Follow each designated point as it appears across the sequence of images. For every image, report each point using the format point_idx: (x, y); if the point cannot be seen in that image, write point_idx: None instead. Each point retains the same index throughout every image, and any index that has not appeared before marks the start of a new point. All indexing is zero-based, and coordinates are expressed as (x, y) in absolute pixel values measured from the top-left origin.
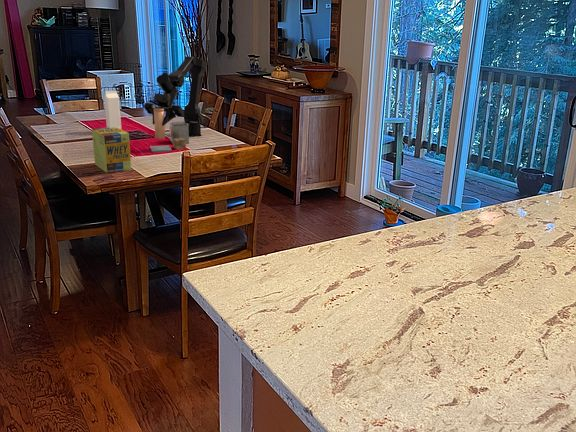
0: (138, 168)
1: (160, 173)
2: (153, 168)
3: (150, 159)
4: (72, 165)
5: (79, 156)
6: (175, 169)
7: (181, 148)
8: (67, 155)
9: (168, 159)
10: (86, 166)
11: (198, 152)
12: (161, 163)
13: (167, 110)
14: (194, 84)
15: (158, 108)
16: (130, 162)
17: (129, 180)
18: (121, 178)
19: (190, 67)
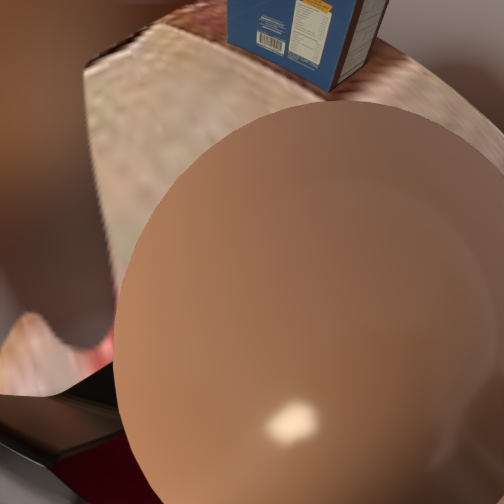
0: (211, 53)
1: (128, 47)
2: (161, 65)
3: (218, 141)
4: (407, 60)
5: (471, 136)
6: (89, 83)
7: None
8: (497, 143)
9: (134, 167)
10: (371, 52)
11: (34, 346)
12: (149, 111)
13: (28, 425)
14: None
15: (474, 406)
16: (227, 22)
17: (191, 6)
18: (216, 8)
19: None
